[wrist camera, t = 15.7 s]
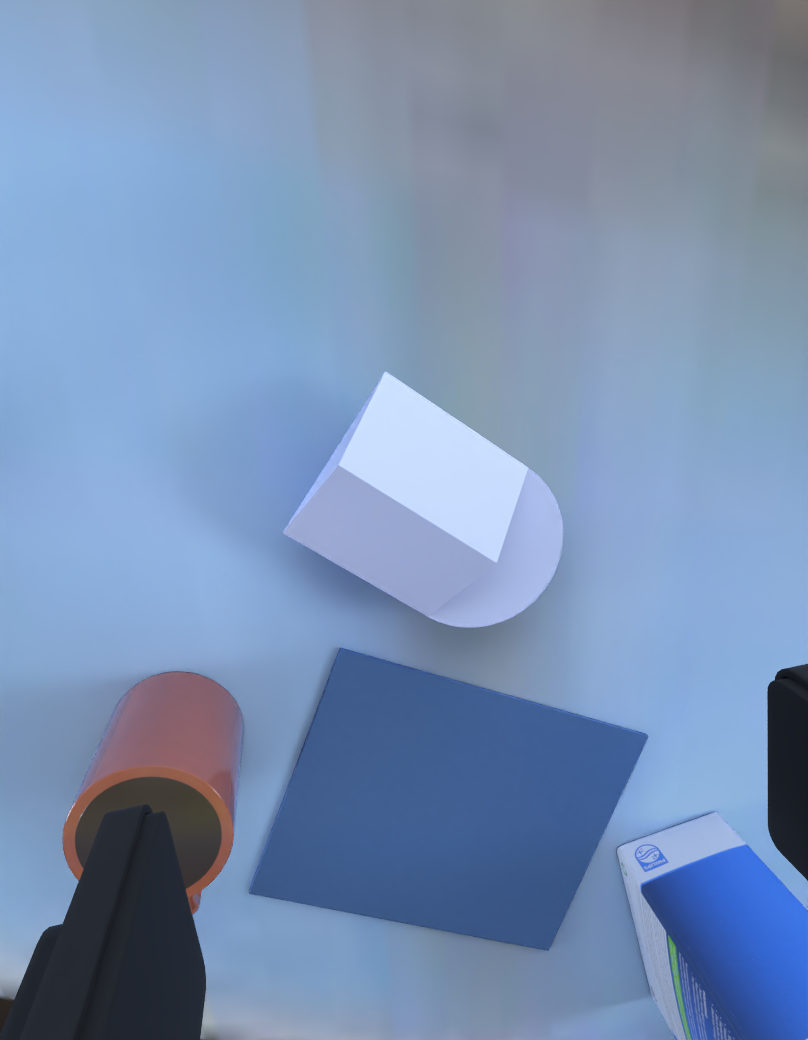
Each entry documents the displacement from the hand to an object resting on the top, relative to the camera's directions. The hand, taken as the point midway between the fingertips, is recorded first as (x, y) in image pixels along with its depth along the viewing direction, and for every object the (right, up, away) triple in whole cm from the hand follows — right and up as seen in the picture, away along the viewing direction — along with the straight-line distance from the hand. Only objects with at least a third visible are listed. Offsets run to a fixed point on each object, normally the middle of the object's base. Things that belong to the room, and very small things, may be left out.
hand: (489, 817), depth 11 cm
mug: (-13, -8, +29) cm, 33 cm away
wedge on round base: (0, +5, +28) cm, 29 cm away
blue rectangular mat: (+2, -13, +33) cm, 35 cm away
